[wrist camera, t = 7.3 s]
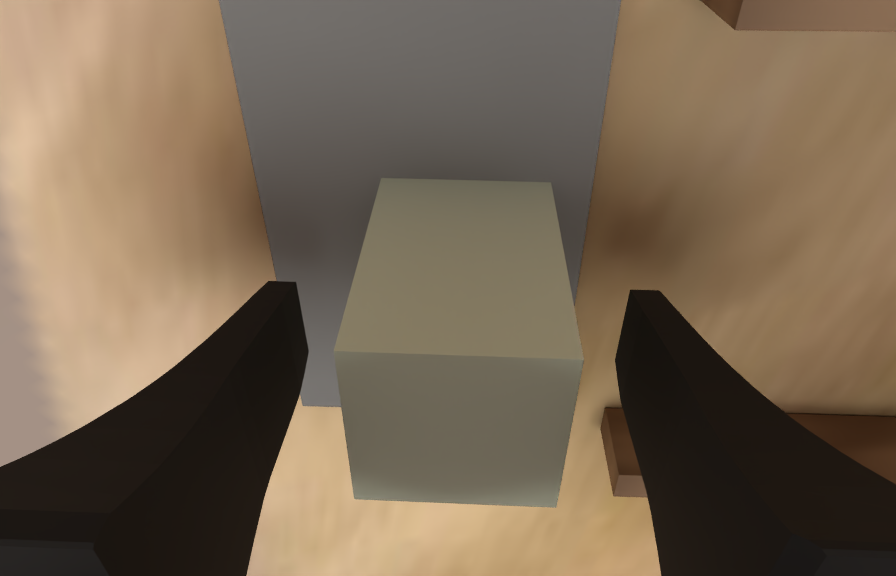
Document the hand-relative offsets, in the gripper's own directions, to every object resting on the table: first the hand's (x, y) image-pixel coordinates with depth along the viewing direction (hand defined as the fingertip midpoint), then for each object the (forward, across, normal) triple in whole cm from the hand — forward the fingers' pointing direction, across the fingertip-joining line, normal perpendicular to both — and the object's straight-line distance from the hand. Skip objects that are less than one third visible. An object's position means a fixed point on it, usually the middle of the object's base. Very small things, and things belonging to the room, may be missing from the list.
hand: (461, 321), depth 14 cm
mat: (+3, +1, 0) cm, 3 cm away
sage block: (+3, 0, 0) cm, 3 cm away
